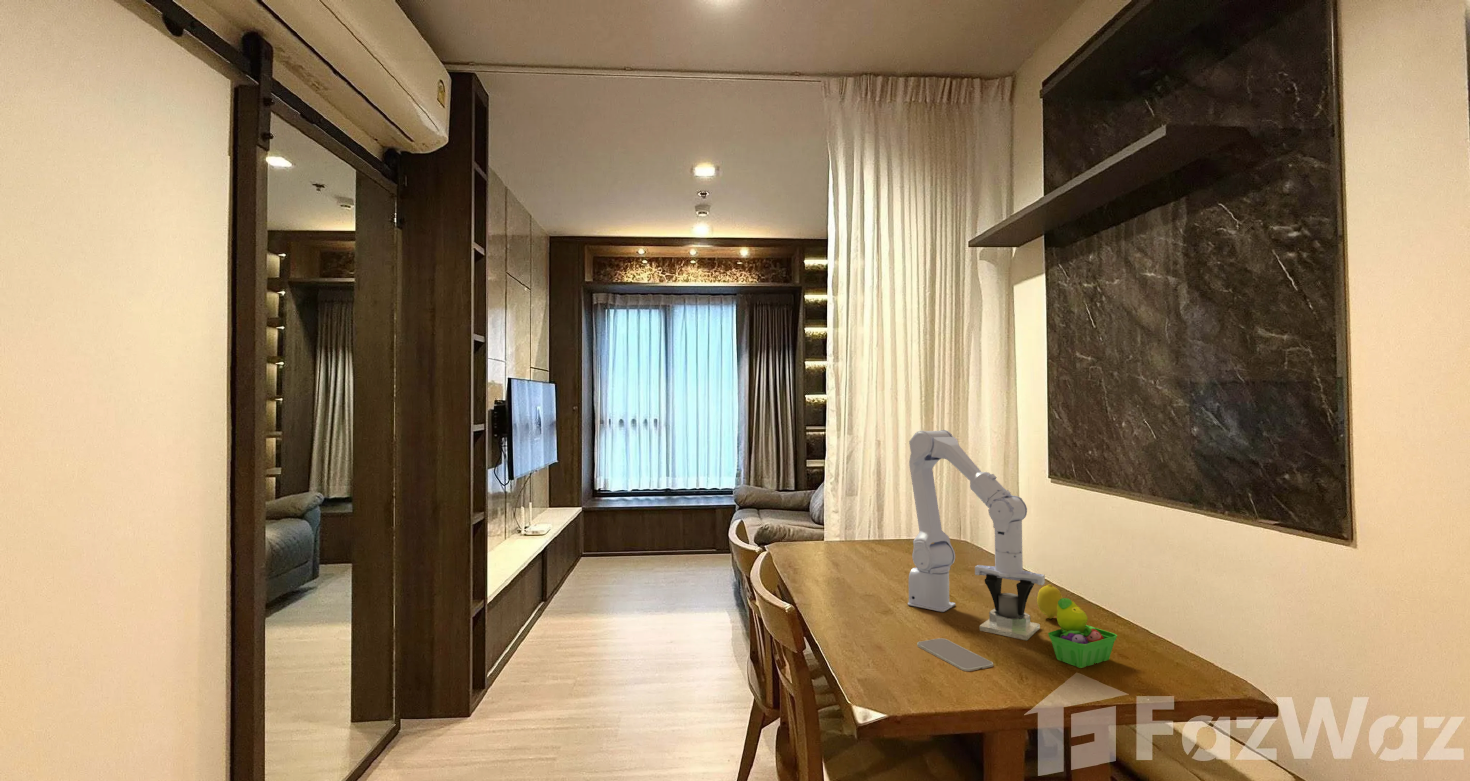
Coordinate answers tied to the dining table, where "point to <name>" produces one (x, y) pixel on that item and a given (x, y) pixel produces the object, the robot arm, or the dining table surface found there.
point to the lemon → (1048, 600)
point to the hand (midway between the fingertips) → (1009, 611)
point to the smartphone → (954, 654)
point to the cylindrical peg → (1008, 605)
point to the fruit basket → (1079, 637)
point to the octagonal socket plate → (1010, 625)
